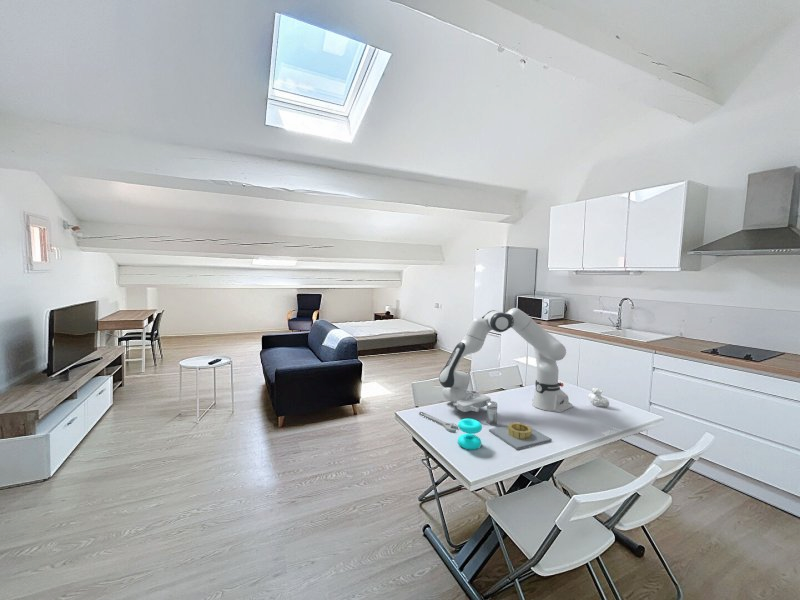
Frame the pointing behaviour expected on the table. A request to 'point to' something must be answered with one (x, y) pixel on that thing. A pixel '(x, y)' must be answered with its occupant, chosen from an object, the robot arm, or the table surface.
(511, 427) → the brass ring
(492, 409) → the cylinder
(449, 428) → the adjustable wrench
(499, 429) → the plate
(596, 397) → the duck figurine
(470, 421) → the donuts
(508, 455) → the table surface
